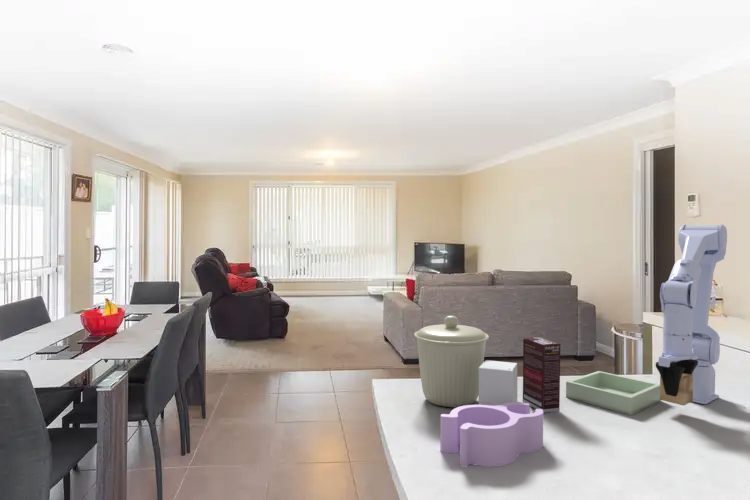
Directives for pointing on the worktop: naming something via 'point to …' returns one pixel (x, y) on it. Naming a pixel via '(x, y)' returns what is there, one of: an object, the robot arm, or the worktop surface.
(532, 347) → the supplement box
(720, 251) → the robot arm
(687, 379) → the oak block
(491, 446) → the clip
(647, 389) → the bin
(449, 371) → the canister
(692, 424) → the worktop surface
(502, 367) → the supplement box
